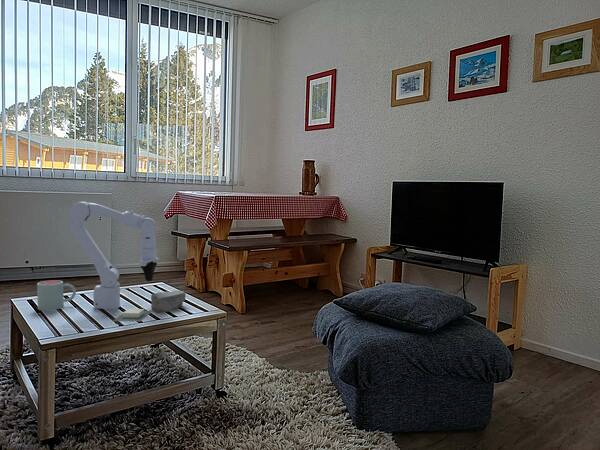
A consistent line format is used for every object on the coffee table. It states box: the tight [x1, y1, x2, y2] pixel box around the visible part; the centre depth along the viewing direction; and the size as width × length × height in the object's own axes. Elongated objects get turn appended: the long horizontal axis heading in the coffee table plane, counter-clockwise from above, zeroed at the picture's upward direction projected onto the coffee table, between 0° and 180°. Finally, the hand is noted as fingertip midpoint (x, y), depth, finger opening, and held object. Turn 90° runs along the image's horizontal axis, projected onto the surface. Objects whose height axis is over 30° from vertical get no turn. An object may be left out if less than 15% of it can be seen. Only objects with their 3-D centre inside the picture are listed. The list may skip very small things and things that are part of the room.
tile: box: [121, 308, 145, 318], centre depth 180 cm, size 6×2×6 cm
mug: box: [36, 279, 77, 312], centre depth 192 cm, size 14×9×10 cm
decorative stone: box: [150, 289, 186, 314], centre depth 191 cm, size 15×7×10 cm
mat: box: [112, 310, 153, 323], centre depth 180 cm, size 10×14×1 cm
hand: (149, 280), depth 196 cm, fingers closed
